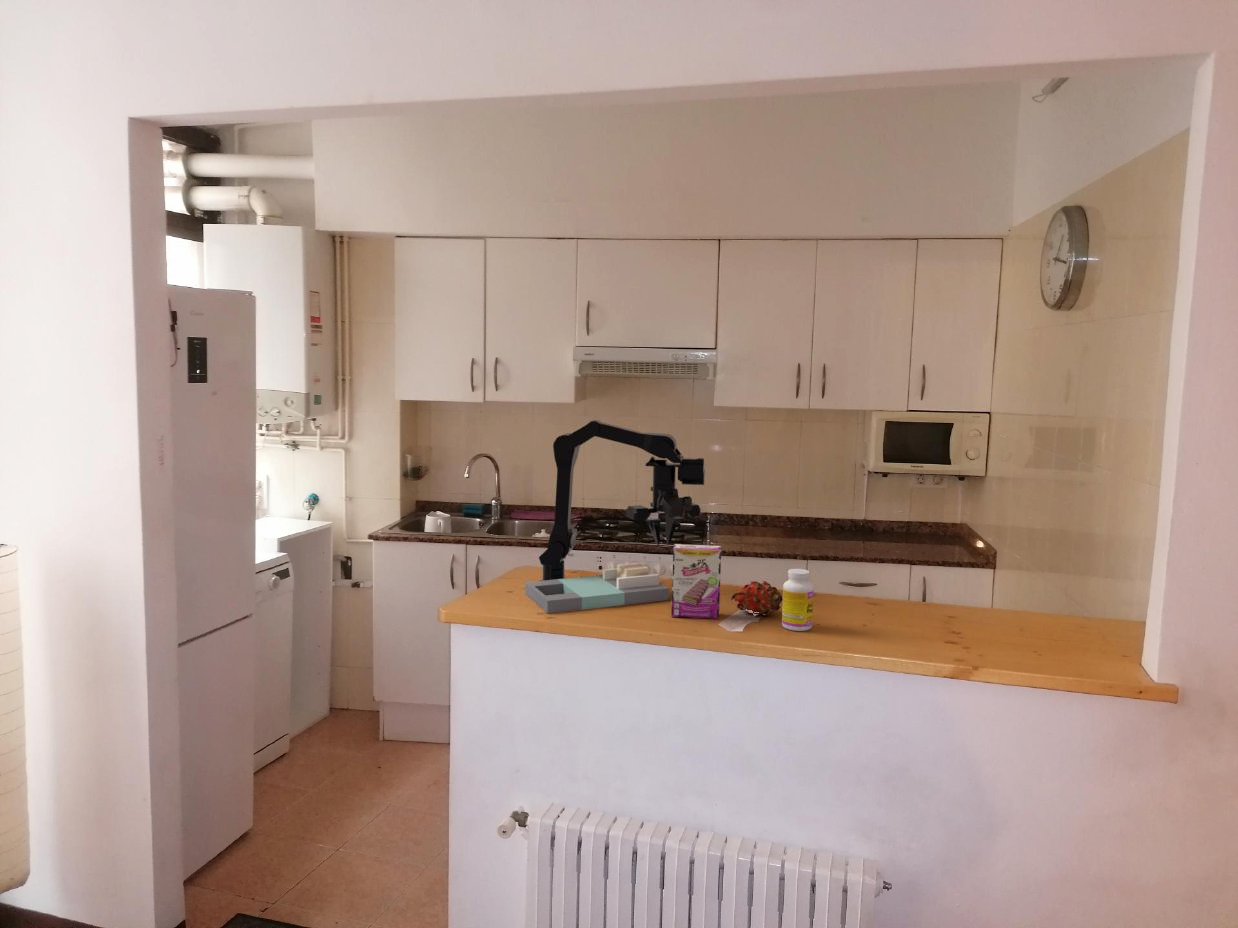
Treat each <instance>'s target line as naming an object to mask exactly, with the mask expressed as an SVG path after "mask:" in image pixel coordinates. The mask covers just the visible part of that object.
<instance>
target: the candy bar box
mask: <svg viewBox="0 0 1238 928" xmlns="http://www.w3.org/2000/svg"><path fill="white" fill-rule="evenodd" d="M672 555H673V556H672V574H671V575H672V576H671V577H672V580H671V608H670V609H671V617H672V618H688V619H689V618H691V619H708V620H709V619H711V620H712V619H713V620H719V618H720V601H721V600H720V599H721V598H720V597H721V596H720V595H721V574H722V573H721V572H722V546H721V545H703V544H682V543H674V544H673V549H672Z"/></svg>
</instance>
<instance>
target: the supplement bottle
mask: <svg viewBox="0 0 1238 928" xmlns="http://www.w3.org/2000/svg"><path fill="white" fill-rule="evenodd" d="M810 575H811V574H810V570H809V569H805V568H790V569H788V571H787V577H788V580H787V581H785V582H784V583H783V585H782V598H783V600H782V609H781V611H782V612H781V625H782V628H785V629H786V630H788V631H794V632H806V631H809V630H811V629H812V627H813V611H814V607H813V606H814V591H815V590H814V585H813V583H812V582H810V581H809V579H810V577H811V576H810Z"/></svg>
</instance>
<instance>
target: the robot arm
mask: <svg viewBox="0 0 1238 928" xmlns="http://www.w3.org/2000/svg"><path fill="white" fill-rule="evenodd" d="M594 437H595V438H600V439H605V440H609V441H612V442H616V443H620V444H625V445H629V446H632V447H636V448H638V449H641V450H643V451H645V452H646V453H648V454H650V455H652V456H651V457H650V459H648V461H646V463H645V467H652V486H650V491H651V492H652V502H649V503H650V507H646V506H644V505H641V504H640V505H628V507H627V508H626V510H625V517H626V518H628V519H630V520H633V521H645V522H646V523H647V525H648V527H649V529H650V531H651V534H652V537H653V539H654V542H655V544H656V545H658V546H660V544H661V530H660V528H661V527H660V526H661V522H662V519H659V516H662V515H664V516H665V541H666V544H668V545H670V544H671V542H672V540H673V537H674V535H675V532H676V529H677V527H678V525H679V524H680V523H681V522H682V521H685V519H686V517H685V514H687V515H688V516H689V517H701V514H702V508H701V507H700V505H699V504H697V503H694V502H693V498H692V497H691V496H683V497H680V496H679V491H678V490H679V489H678V488H676V474H677V481H679V482H681V485H682V486H683V485H687V486H705V482H706V479H705V478H706V469H705V458H704V457H696V458H688V457H687V458H685V457H684V456H683V453H681V451H680V450H679V449H678V444H677V440H676V439H675V437H674V436H673V435H671V434H669V433H658V432H642V431H638V430H634V429H630V428H627V427H623V426H618V425H615V424H610V423H606V422H604V421H603V422H602V421H601V420H598V419H593V420H590V421H588V422H587V424H586V425H584V426H582V427H579V429H577V430H575V431H573V432H572V433H571V432H567V433H563V434H562V435H559V436H557V437H556V438H555V439H554V440H553V445H552V446H553V447H552V448H553V457H554V461H555V466H556V470H557V471H556V472H557V473H556V488H555V503H554V504H555V505H554V507H555V508H554V521H553V526H552V529H551V530H550V531H551V532H550V533H549V534H550V535H549V539H548V544H547V549H546V550H545V551H544V552H542V554H541V555H539V556H538V559H539V562H540V565H542V579H541V580H538V581H544V580H555V579H565V559H566V557H567V556H568V555H569V554H570V553H571V551H573V549H574V547H575V546H576V545H577V544H578V542H577V533H578V528H573V527H572V522H571V515H572V500H573V499H572V497H573V482H574V470H575V469H574V468H575V466H576V462H577V459H578V456H579V453H580V448H581V445H583V444H585V443H586V442H588V441H590V440H591V439H593V438H594ZM657 458H659V459H657ZM669 461H670V462H671V463H669ZM676 469H677V473H676Z"/></svg>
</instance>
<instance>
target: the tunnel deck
mask: <svg viewBox="0 0 1238 928" xmlns="http://www.w3.org/2000/svg"><path fill="white" fill-rule="evenodd" d="M524 585H525V587H524V590H525V591H524V594H525V595H526V596H527V597H528V598H529V599H530V600H532V601H533V602H534V603H535V604H536V605H537V606H538V607H540V608H541V609H542V610H543V611H544V612H545V613H546V614H554V613H555V614H556V613H562V612H564V613H565V612H571V611H572V612H573V611H574V612H575V611H580V610H591V609H600V608H609V607H618V606H626V605H637V604H645V603H653V602H654V603H655V602H663V601H664V602H665V601H670V588H669V587H668V586H666V585H665V584H662V583H661V582H660V574H658V573H655V574H652V573H651V574H648V575H641V576H631V577H620V578H617V567H616V568H615V567H614V568H605V569H604V568H603V569H602V574H599V575H589V576H588V575H587V576H576V577H568V578H565V577H564V579H555V580H544V581H539V580H537V581H536V580H534V581H526V582H524Z"/></svg>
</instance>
